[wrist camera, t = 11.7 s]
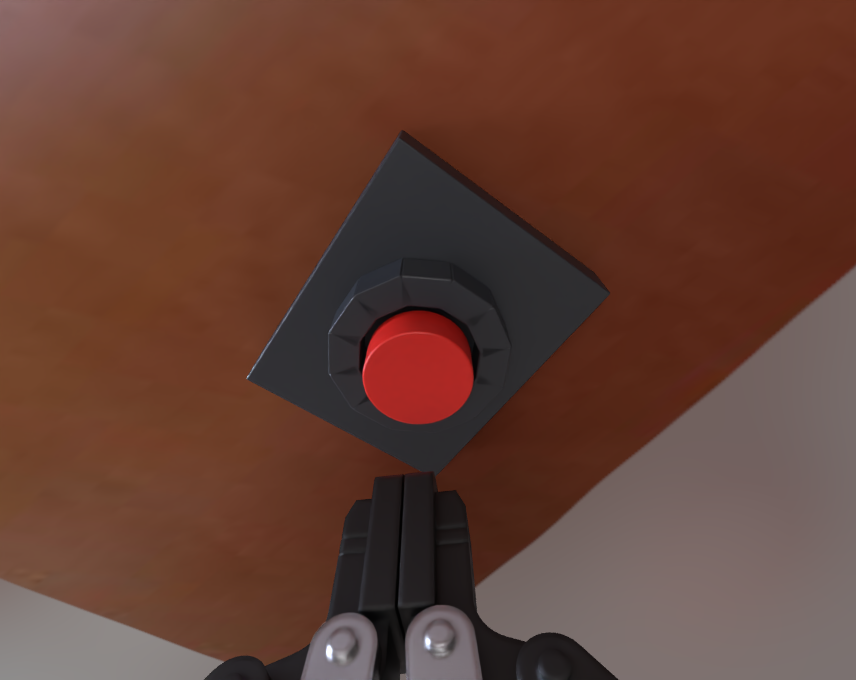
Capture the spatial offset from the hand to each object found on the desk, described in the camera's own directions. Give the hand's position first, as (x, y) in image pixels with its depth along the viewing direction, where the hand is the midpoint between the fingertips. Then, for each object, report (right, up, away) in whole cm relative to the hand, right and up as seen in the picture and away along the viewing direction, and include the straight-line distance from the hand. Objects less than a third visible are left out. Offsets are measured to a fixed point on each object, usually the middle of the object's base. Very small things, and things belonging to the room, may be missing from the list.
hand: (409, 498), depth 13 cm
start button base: (0, +5, +10) cm, 11 cm away
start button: (0, +3, +7) cm, 8 cm away
